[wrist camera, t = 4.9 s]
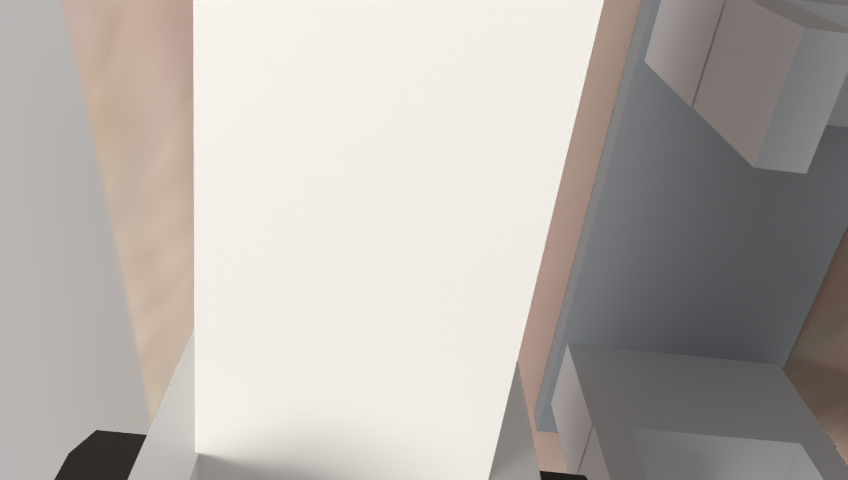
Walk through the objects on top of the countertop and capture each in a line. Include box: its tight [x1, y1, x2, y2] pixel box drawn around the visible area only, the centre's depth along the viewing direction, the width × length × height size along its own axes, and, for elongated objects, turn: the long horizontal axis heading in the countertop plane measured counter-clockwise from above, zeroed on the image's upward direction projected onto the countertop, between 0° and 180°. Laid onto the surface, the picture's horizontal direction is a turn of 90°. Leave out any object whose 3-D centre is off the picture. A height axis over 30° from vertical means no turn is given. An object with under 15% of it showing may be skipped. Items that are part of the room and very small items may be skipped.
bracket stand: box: [534, 0, 848, 480], centre depth 23 cm, size 20×9×10 cm, turn 173°
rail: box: [193, 0, 604, 480], centre depth 13 cm, size 18×4×5 cm, turn 172°
